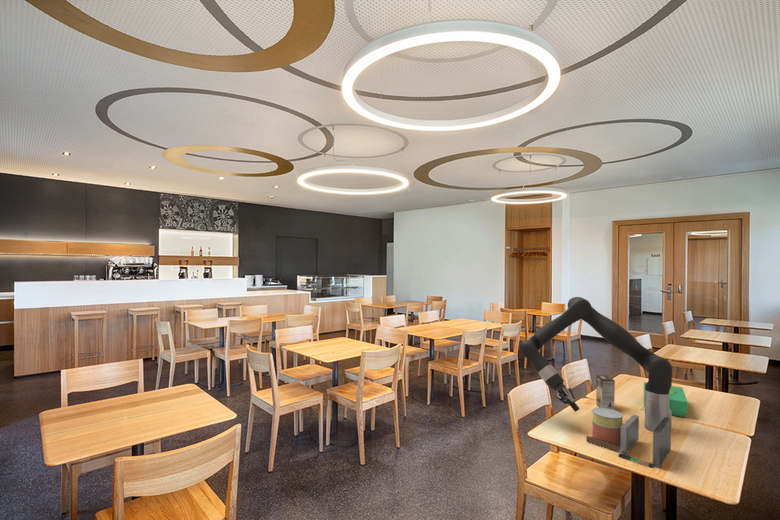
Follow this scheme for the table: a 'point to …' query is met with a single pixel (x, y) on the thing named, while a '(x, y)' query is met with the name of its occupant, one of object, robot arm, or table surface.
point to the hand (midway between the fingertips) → (577, 410)
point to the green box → (676, 401)
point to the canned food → (607, 425)
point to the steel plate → (629, 434)
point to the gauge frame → (659, 445)
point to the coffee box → (605, 391)
